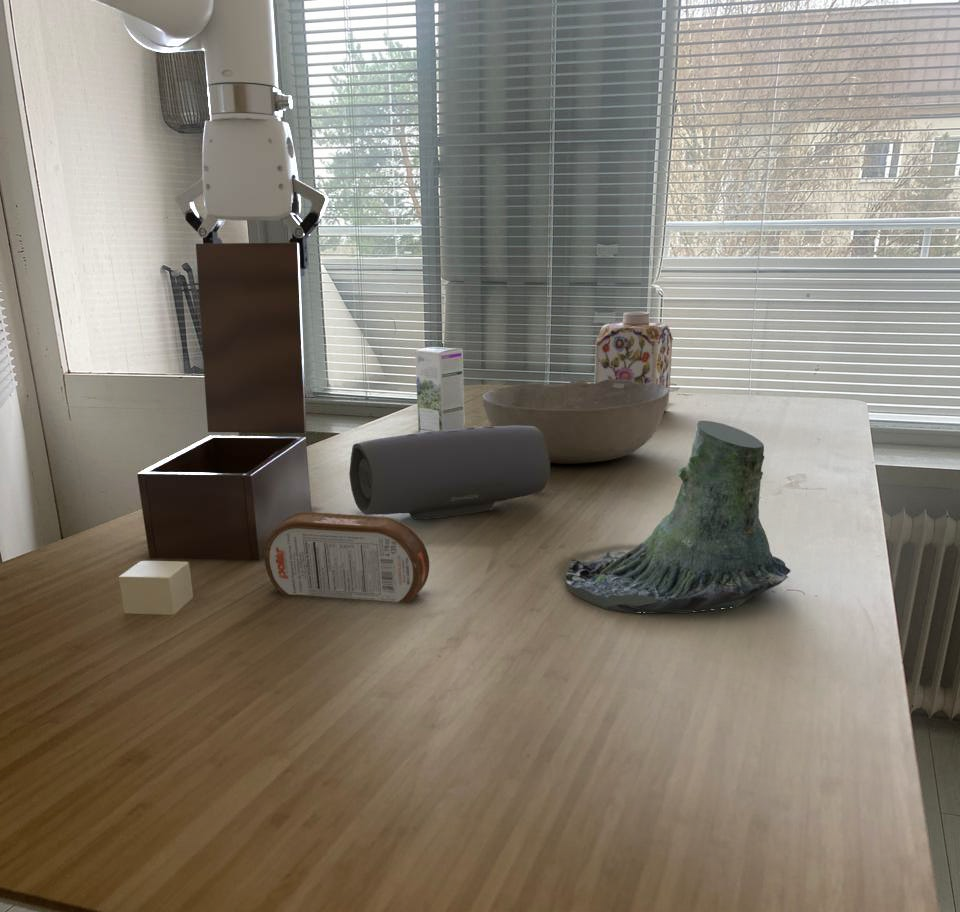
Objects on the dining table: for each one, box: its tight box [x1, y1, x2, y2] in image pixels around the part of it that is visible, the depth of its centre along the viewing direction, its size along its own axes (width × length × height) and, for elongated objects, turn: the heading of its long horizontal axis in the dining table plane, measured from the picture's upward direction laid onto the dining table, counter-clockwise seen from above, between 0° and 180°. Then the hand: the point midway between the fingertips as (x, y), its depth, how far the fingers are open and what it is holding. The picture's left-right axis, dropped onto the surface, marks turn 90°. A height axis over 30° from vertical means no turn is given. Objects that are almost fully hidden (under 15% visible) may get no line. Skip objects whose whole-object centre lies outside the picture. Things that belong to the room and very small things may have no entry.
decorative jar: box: [593, 311, 674, 412], centre depth 179 cm, size 12×12×18 cm
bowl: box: [481, 379, 670, 465], centre depth 146 cm, size 28×28×10 cm
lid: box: [195, 242, 307, 434], centre depth 113 cm, size 20×12×5 cm
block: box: [118, 560, 194, 616], centre depth 86 cm, size 4×4×4 cm
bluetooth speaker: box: [348, 425, 551, 520], centre depth 117 cm, size 23×9×10 cm, turn 115°
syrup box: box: [414, 346, 466, 433], centre depth 159 cm, size 6×6×14 cm
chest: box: [136, 435, 313, 561], centre depth 106 cm, size 20×12×10 cm, turn 174°
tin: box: [263, 511, 430, 604], centre depth 87 cm, size 15×3×8 cm, turn 77°
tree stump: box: [565, 420, 792, 614], centre depth 90 cm, size 18×20×18 cm
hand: (257, 275), depth 112 cm, fingers open, 9 cm apart
